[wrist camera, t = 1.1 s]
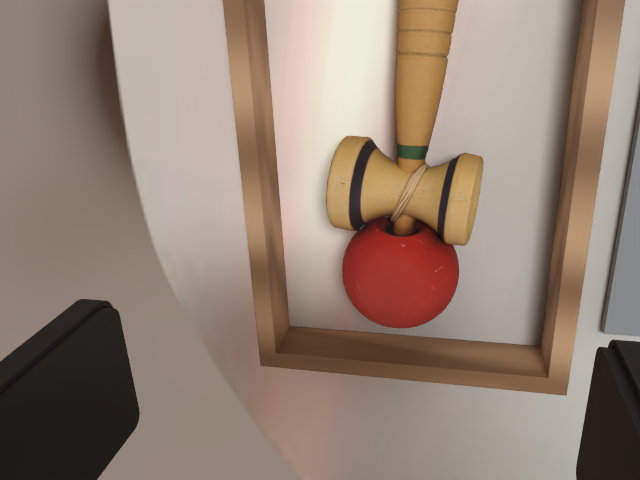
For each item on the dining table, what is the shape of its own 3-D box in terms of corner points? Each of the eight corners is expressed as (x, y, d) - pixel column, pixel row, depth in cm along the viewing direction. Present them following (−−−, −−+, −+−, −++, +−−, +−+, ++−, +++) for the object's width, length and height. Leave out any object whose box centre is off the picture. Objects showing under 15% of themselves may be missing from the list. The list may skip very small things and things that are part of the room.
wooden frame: (557, 362, 32) (566, 395, 29) (275, 338, 36) (260, 365, 33) (628, -155, 23) (651, -176, 20) (235, -113, 26) (209, -127, 24)
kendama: (340, -38, 28) (321, 297, 33) (340, -73, 22) (317, 345, 27) (495, -30, 28) (453, 305, 33) (539, -63, 22) (479, 356, 27)
